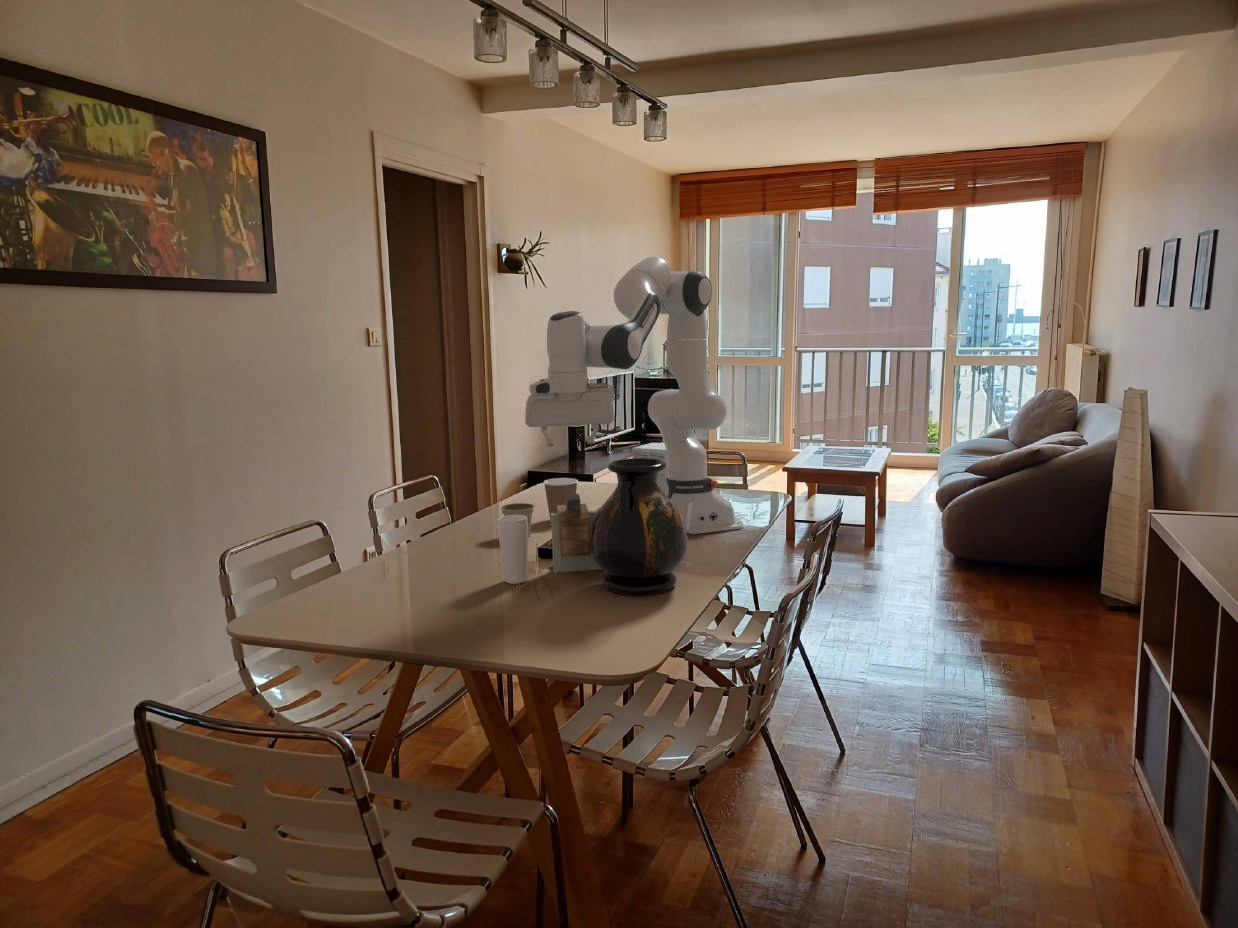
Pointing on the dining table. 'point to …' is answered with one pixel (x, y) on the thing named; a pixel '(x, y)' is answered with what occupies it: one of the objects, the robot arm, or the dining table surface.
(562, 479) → the coffee cup
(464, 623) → the dining table surface
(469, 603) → the dining table surface
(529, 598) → the dining table surface
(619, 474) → the amphora vase
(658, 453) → the supplement box
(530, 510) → the flower pot
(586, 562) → the board
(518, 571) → the drinking glass
